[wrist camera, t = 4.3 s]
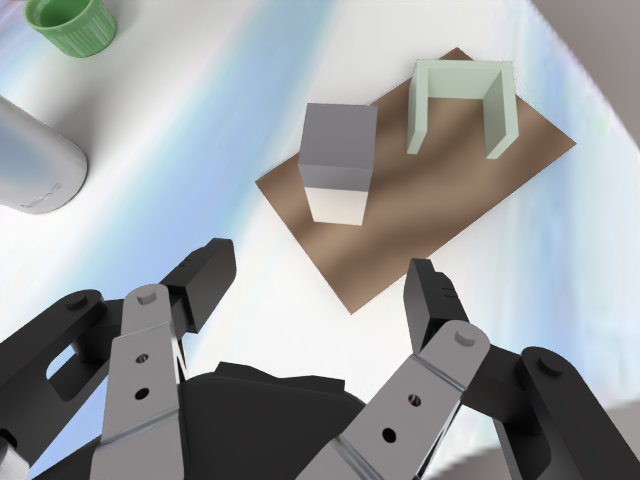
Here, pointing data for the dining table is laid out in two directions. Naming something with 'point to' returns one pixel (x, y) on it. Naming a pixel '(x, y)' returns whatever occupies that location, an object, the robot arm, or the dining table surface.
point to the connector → (337, 160)
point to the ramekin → (72, 24)
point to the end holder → (468, 83)
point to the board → (414, 190)
